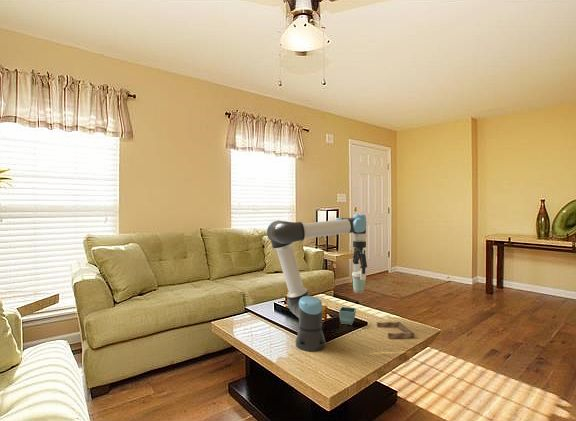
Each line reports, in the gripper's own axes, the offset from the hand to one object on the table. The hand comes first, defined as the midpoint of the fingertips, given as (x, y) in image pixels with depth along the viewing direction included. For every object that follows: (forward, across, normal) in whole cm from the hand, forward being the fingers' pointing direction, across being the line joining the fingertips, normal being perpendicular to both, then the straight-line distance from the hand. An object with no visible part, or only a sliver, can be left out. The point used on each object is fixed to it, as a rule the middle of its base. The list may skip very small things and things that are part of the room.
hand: (359, 277), depth 187 cm
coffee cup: (+9, +2, 0) cm, 10 cm away
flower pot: (+29, +4, +6) cm, 30 cm away
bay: (+29, -10, -16) cm, 34 cm away
